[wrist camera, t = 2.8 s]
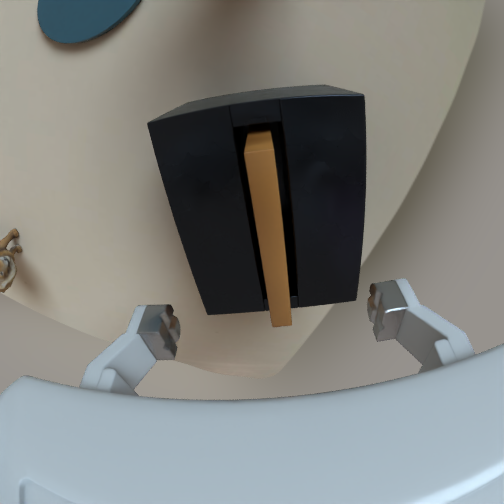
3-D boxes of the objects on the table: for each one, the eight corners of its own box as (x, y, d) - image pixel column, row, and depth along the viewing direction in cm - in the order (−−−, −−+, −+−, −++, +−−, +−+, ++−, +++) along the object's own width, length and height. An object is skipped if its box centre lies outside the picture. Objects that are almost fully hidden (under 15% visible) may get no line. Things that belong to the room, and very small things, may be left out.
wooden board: (267, 113, 19) (273, 148, 11) (282, 235, 25) (292, 325, 17) (250, 115, 19) (243, 152, 11) (268, 236, 25) (272, 327, 17)
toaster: (325, 84, 19) (364, 94, 12) (332, 242, 28) (355, 310, 20) (187, 102, 20) (146, 123, 13) (222, 254, 29) (210, 324, 21)
